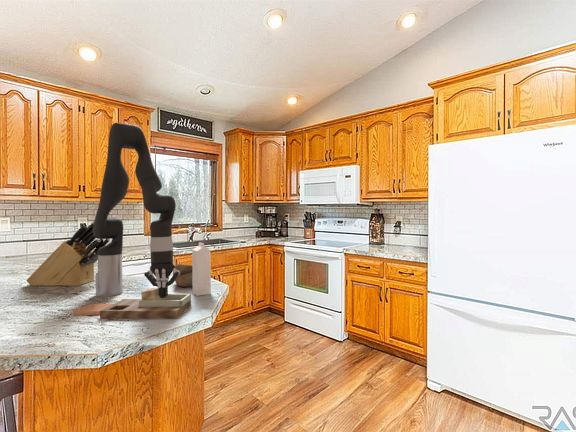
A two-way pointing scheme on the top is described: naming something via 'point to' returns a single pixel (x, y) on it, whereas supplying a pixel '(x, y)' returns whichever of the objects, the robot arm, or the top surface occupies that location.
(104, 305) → the tile
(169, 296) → the grey green shallow tray
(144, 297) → the block
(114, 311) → the dark brown flat tray
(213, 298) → the top surface
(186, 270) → the bowl
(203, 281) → the milk
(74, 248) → the knife block
